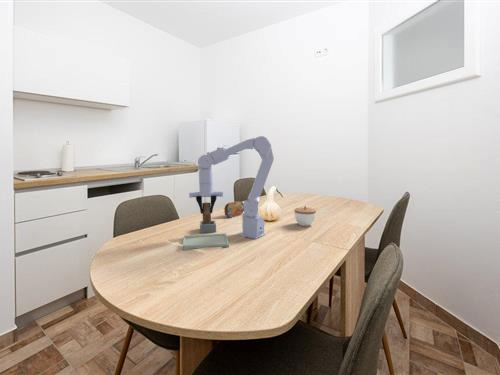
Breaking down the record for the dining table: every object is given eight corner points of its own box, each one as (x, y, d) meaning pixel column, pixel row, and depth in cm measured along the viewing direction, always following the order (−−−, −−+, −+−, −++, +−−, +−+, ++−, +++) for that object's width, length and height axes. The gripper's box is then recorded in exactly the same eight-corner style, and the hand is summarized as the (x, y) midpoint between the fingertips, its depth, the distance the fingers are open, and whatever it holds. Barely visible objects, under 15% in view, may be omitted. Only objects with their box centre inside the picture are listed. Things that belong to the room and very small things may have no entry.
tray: (226, 236, 126) (225, 233, 126) (229, 247, 114) (229, 243, 113) (184, 239, 123) (184, 235, 123) (182, 250, 110) (182, 246, 110)
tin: (227, 219, 158) (227, 204, 156) (223, 218, 159) (223, 203, 158) (244, 214, 169) (244, 200, 168) (240, 213, 171) (240, 199, 170)
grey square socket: (215, 228, 139) (215, 220, 138) (216, 233, 132) (215, 224, 131) (200, 229, 137) (199, 221, 137) (200, 234, 130) (200, 225, 130)
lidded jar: (314, 222, 151) (314, 204, 149) (316, 227, 140) (317, 208, 139) (293, 221, 152) (293, 204, 151) (294, 227, 141) (295, 208, 140)
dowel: (212, 222, 128) (212, 203, 126) (206, 224, 125) (206, 204, 124) (206, 221, 130) (206, 202, 129) (201, 223, 127) (200, 203, 126)
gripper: (221, 181, 130) (222, 210, 132) (189, 181, 128) (190, 211, 129) (222, 183, 123) (223, 213, 125) (188, 183, 121) (189, 215, 123)
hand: (206, 213), depth 127 cm, fingers closed on dowel, 4 cm apart
